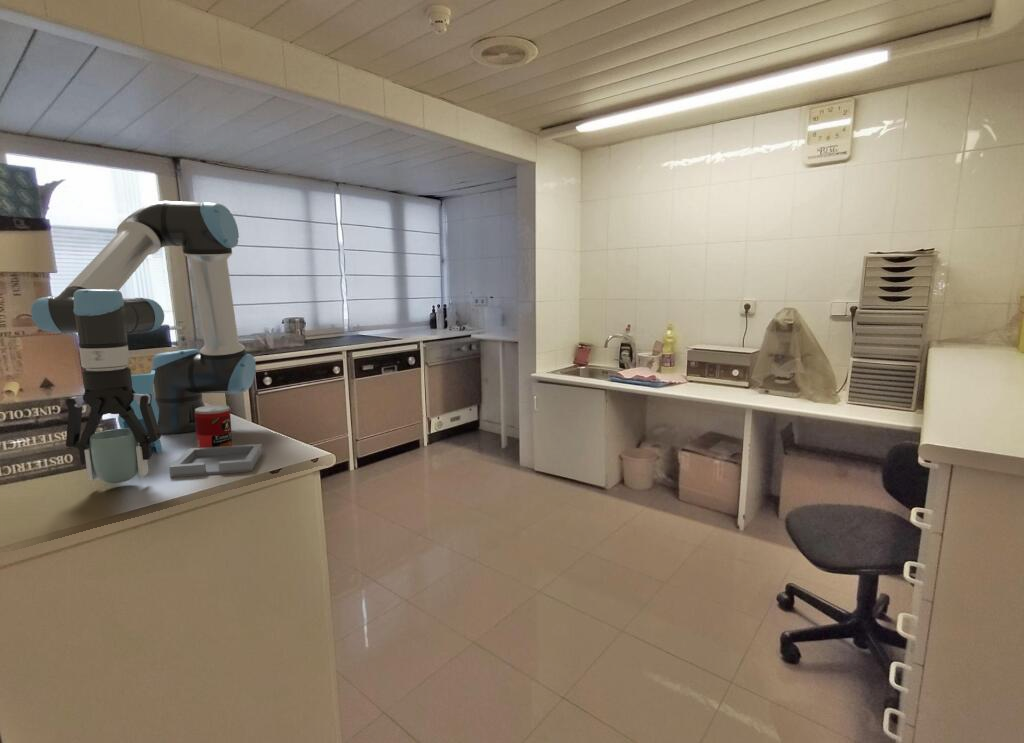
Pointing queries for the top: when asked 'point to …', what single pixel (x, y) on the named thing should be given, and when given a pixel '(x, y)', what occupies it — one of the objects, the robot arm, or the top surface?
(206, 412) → the canned food
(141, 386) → the blue wavy stand
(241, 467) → the grey square tray
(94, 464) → the cup
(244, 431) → the top surface
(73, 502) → the top surface
